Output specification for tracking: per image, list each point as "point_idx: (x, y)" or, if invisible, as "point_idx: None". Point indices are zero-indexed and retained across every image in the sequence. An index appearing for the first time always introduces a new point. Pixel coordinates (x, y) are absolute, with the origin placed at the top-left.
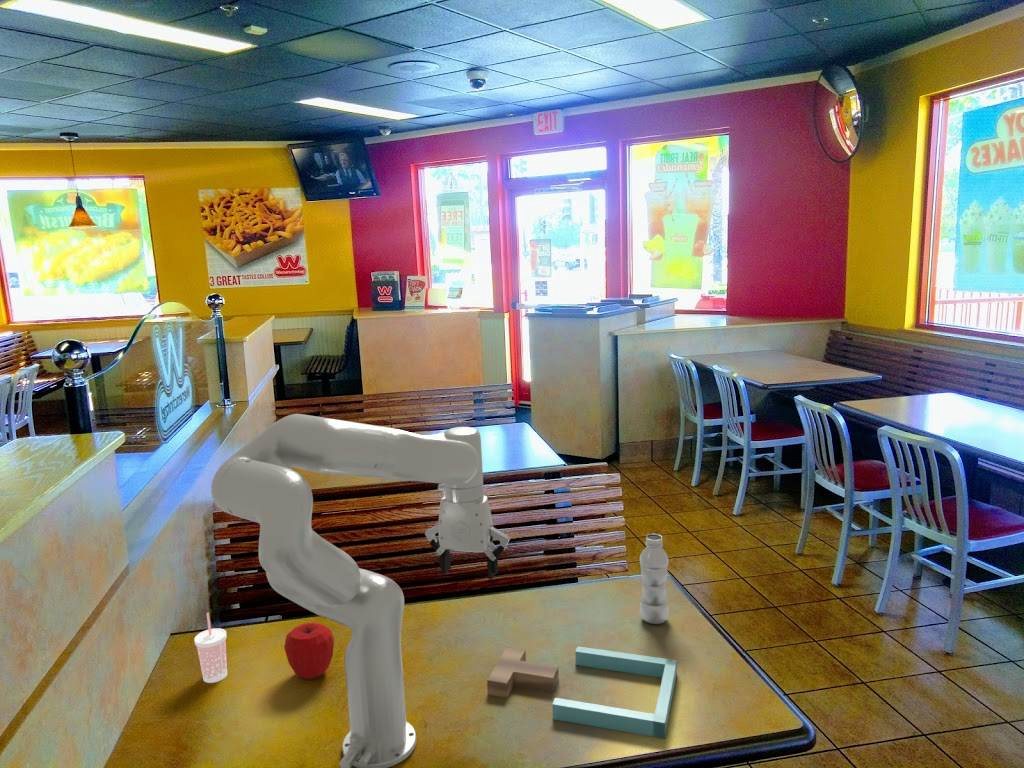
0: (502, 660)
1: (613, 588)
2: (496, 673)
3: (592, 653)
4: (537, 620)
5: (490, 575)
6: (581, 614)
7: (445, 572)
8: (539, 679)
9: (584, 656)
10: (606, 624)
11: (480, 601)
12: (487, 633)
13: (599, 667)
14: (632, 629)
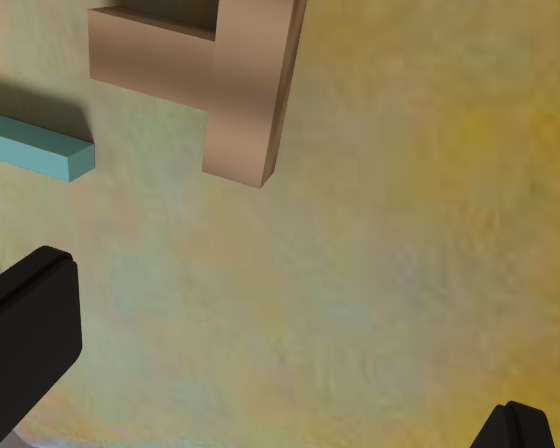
0: (262, 112)
1: (93, 422)
2: (270, 26)
3: (24, 145)
4: (224, 342)
5: (21, 263)
6: (132, 348)
7: (500, 418)
8: (137, 18)
9: (52, 146)
10: None
11: (382, 443)
12: (348, 306)
13: (35, 127)
14: None
